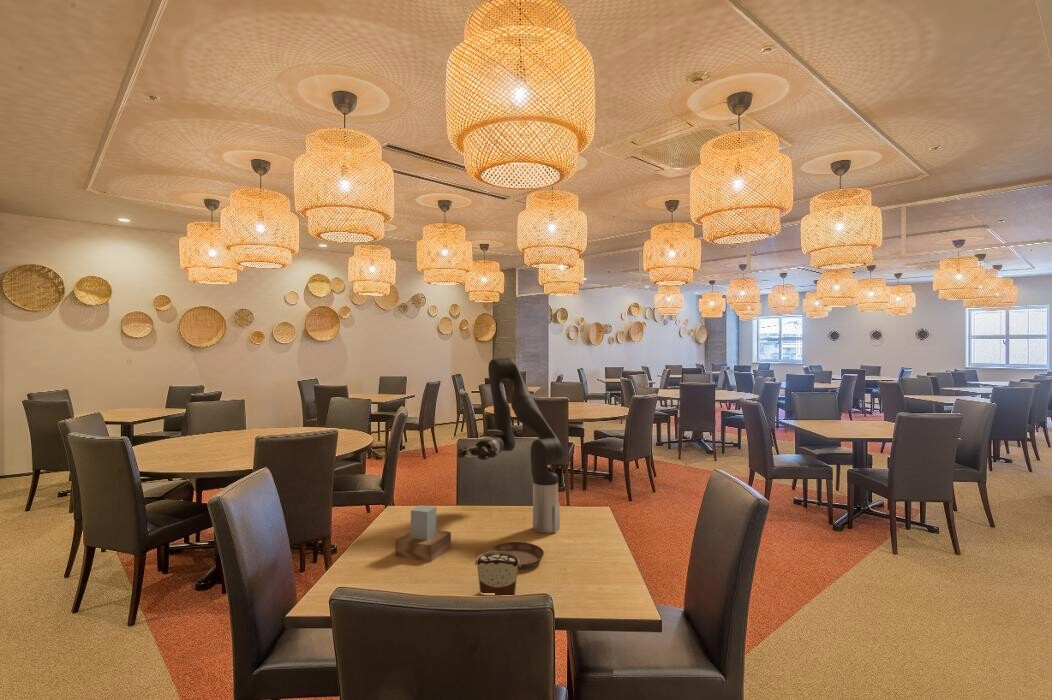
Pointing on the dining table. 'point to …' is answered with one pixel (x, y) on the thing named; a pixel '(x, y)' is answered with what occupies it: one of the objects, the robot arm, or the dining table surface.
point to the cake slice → (497, 572)
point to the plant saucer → (522, 553)
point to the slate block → (423, 522)
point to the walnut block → (423, 546)
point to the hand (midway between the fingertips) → (470, 455)
